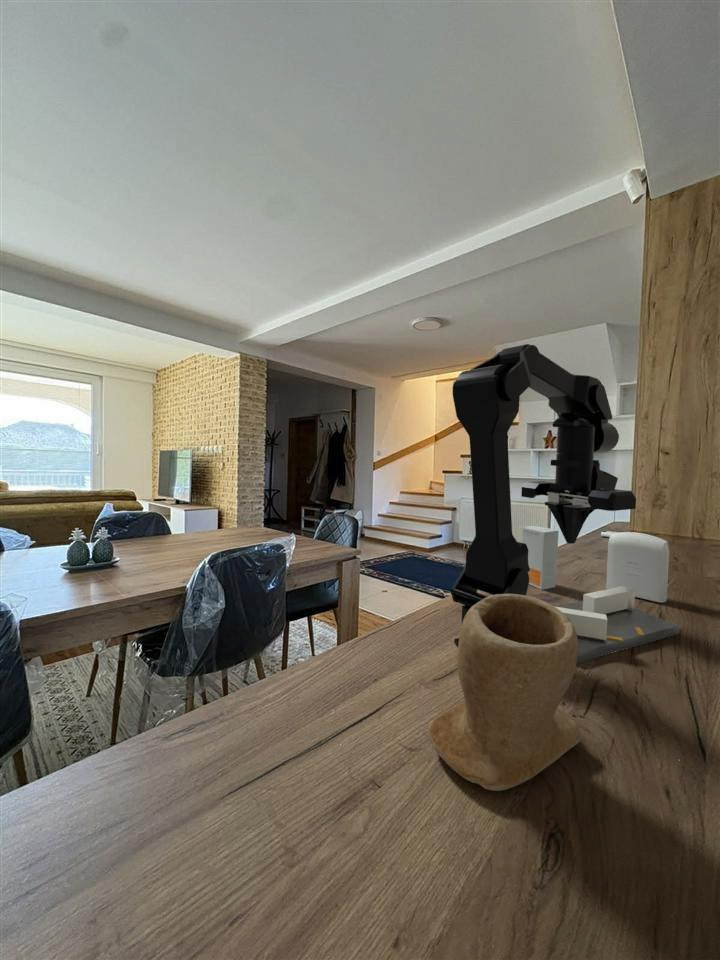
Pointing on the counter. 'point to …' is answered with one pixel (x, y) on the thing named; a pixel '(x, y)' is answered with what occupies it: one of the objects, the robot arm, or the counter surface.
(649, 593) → the photo printer
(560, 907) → the counter surface
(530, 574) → the skincare box
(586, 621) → the white rectangular block
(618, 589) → the off-white long bar
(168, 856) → the counter surface
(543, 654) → the stone cup
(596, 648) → the levelling base
